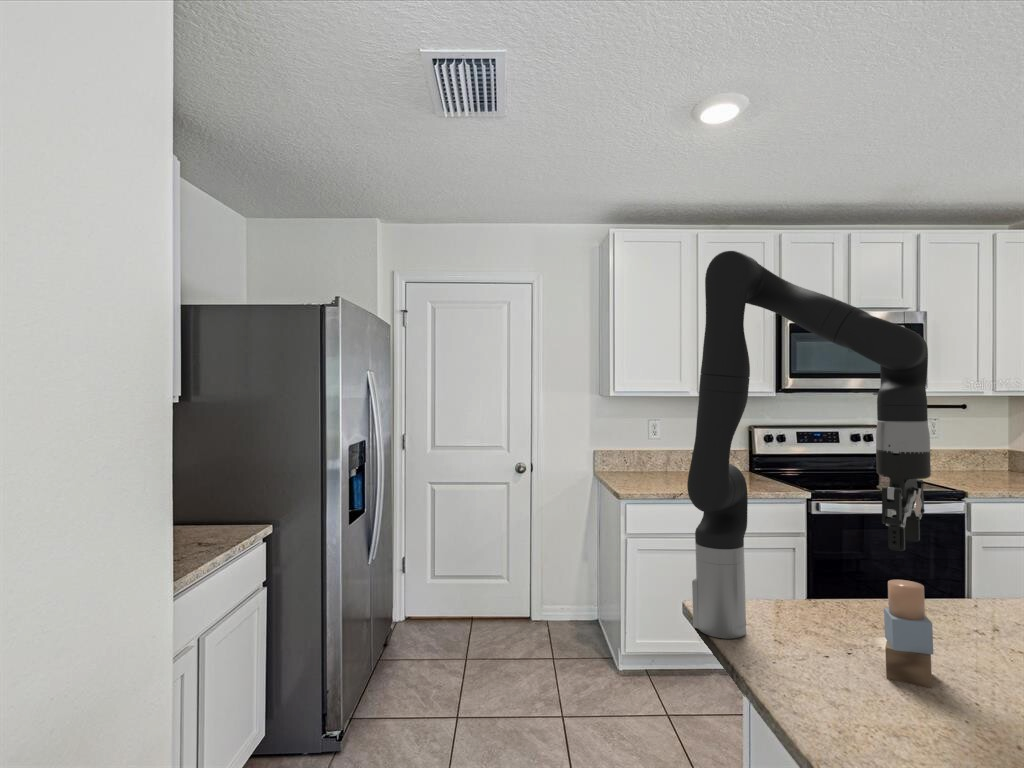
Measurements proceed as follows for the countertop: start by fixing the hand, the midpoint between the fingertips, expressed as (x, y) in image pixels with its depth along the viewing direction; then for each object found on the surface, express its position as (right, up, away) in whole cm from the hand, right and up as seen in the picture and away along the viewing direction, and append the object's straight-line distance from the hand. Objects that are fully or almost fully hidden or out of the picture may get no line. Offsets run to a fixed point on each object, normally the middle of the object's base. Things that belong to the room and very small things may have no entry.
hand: (904, 545), depth 97 cm
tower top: (0, -16, -1) cm, 17 cm away
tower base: (0, -21, -1) cm, 22 cm away
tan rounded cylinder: (0, -12, 0) cm, 12 cm away
